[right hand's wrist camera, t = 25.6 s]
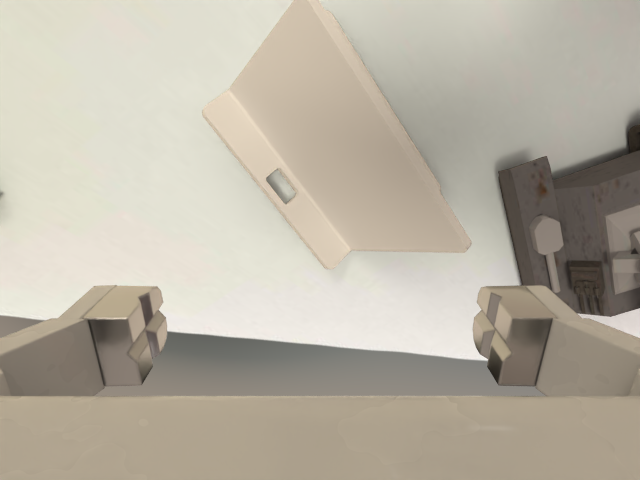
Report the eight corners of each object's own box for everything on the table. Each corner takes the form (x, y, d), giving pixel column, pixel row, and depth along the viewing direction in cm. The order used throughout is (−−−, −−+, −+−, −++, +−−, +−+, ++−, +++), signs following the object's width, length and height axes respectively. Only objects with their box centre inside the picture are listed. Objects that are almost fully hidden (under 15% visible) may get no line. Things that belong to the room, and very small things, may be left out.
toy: (491, 161, 49) (559, 191, 35) (660, 99, 47) (805, 107, 33) (528, 323, 58) (594, 399, 44) (672, 279, 55) (790, 345, 41)
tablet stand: (327, 7, 43) (330, -37, 27) (442, 188, 51) (497, 236, 35) (203, 110, 47) (144, 124, 31) (327, 264, 54) (329, 338, 39)
